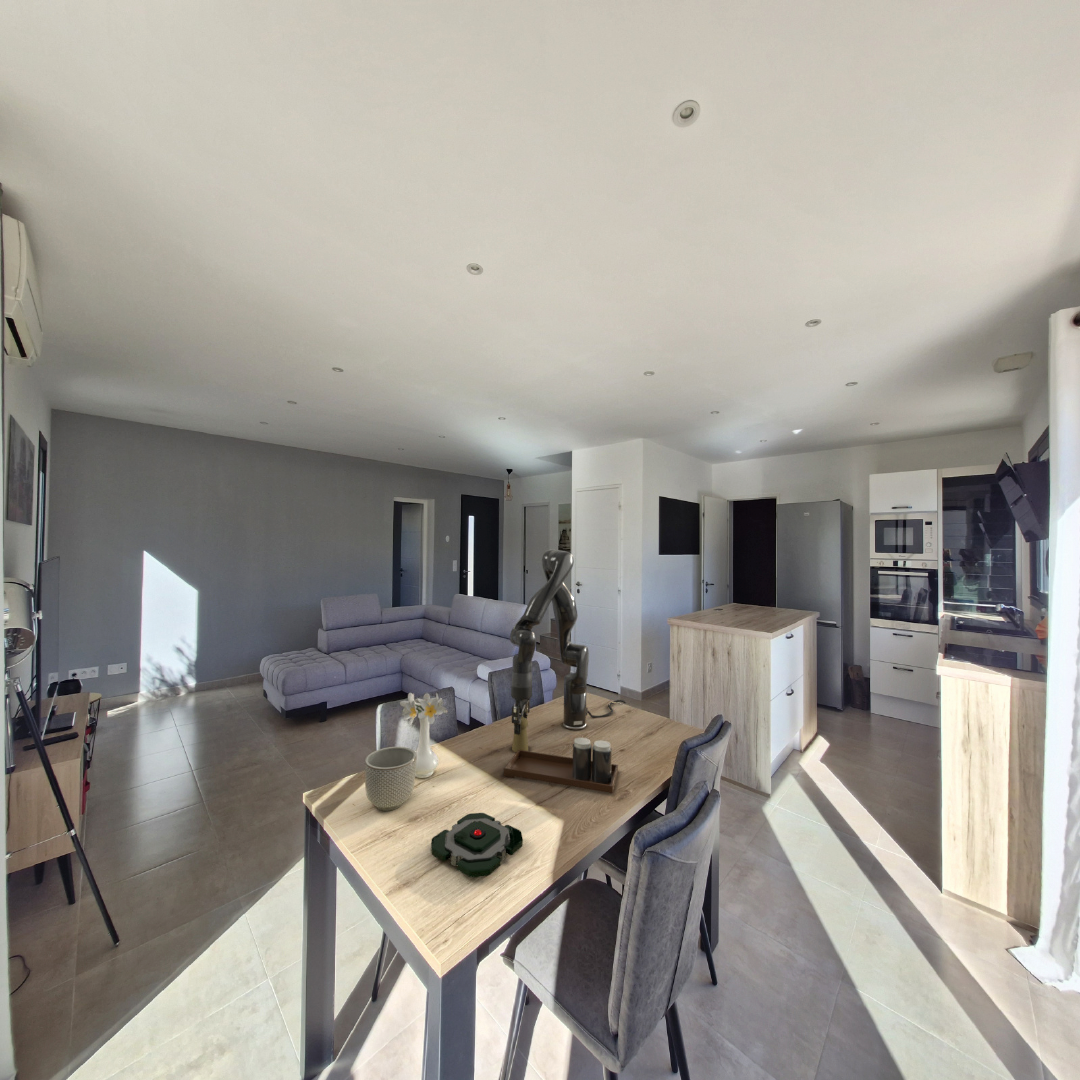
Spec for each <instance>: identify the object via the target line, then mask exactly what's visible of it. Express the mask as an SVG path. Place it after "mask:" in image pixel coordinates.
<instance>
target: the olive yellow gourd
mask: <svg viewBox="0 0 1080 1080" xmlns="http://www.w3.org/2000/svg"><path fill="white" fill-rule="evenodd" d="M519 718H520V717H519ZM516 720H517V718H516ZM528 726H529V721H528V718H527V719H526V718H524V717H522V719H521V733H520V734H519V735H517V734H514V733H513V737H512V744H511V745H512V746H511V750H512V752H513V753H516V752H517V751H518V750H525V751H529V742H528V740H529V739H528V733H527V732H528V730H527V727H528Z"/></svg>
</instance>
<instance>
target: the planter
mask: <svg viewBox="0 0 1080 1080" xmlns="http://www.w3.org/2000/svg"><path fill="white" fill-rule="evenodd" d="M416 763H417V755H416V751H415V750H414V749H412V748H409V747H406V746H389V747H388V746H387V747H383V748H379V749H377V750H374V751H372V752H371V753H369V754H368V755H367V756H366V757H365V759H364V765H363V767H364V784H365V794H366V798H367V800H368V802H369V803H370V804H372V805H373V806H374V807H376V808H377V809H378V810H380V811H383V812H388V811H389V812H390V811H394V810H397V809H398V808H400V807H401V806H402V805H403V803H404V802H406V801H407V800H408V799H409V798H410V796H411V795H412V793H413V790H414V787H415V781H416V777H415V774H416Z"/></svg>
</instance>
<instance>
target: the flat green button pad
mask: <svg viewBox="0 0 1080 1080" xmlns="http://www.w3.org/2000/svg"><path fill="white" fill-rule="evenodd" d="M522 833H523V832H522V831H521V830H520V829H518V828H517V827H514V826H512V825H510V824H505V825H502V822H501V821H500V820H496V818H495V817H493V816H491V815H490V814H487V813H485V812H474V813H467V814H466V815H464V816H462V817H461V818H459V819H458V820H457V821H456V823H454V824H453V825H452V826H451V829H450V830H448V829H443V830H442V831H441V832H439V833H437V834H436V835H434V836H433V837H432V838H431V844H430V854H431V856H433V857H435V858H436V859H438V860H440V861H441V862H446V861H448V860H450V864H451V866H453V867H456V870H457V872H460V873H461V874H463V875H465V876H467V877H469V878H482V877H488V876H490V875H492V873H494V872H495V871H496V870H498V868H500V867H501V865H502V864H501V862H503V861H504V860H505V859H506V854H507V855H508V856H513V855H514V854H516V853H517V852H518V851H519V850H520V849H521V848H523V845H524V838H523V835H522Z"/></svg>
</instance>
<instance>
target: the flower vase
mask: <svg viewBox="0 0 1080 1080" xmlns="http://www.w3.org/2000/svg"><path fill="white" fill-rule="evenodd" d="M435 695H436V697H431V695H430V693H428V692H426V693H425V694H424V695H423V698H415V693H412V692H409V693H408V694H407V700H401V701H399V705H400V706H401V707H403V709H402V711H401V713H402V714H401V716H403V717H402V719H403V721H407V720H409V721H408V726H409V727H412V725H413V722H414V720H415V718H418V719H419V721H418V722H419V737H418V745H417V748H416V751H415V752H416V755H417V763H416V774H415V778H417V779H425V778H428V777H429V778H430V777H431V776H432V775H433V774H434V772H435V770H436V769H438V766H439V763H440V760H439V756H438V755H437V753H436V752H435V751H434V750H433V749H432V746H431V740H430V738H431V737H430V728H431V727H430V726H431V725H433V724H434V723H435V720H436V718H435V716H441V715H443V714H445V715H447V714H448V713H449V711H448V710H447V709H446V707H445V706H443V704H444V700H443V698H442V697H440V698H439V694H438V692H436V693H435Z"/></svg>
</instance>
